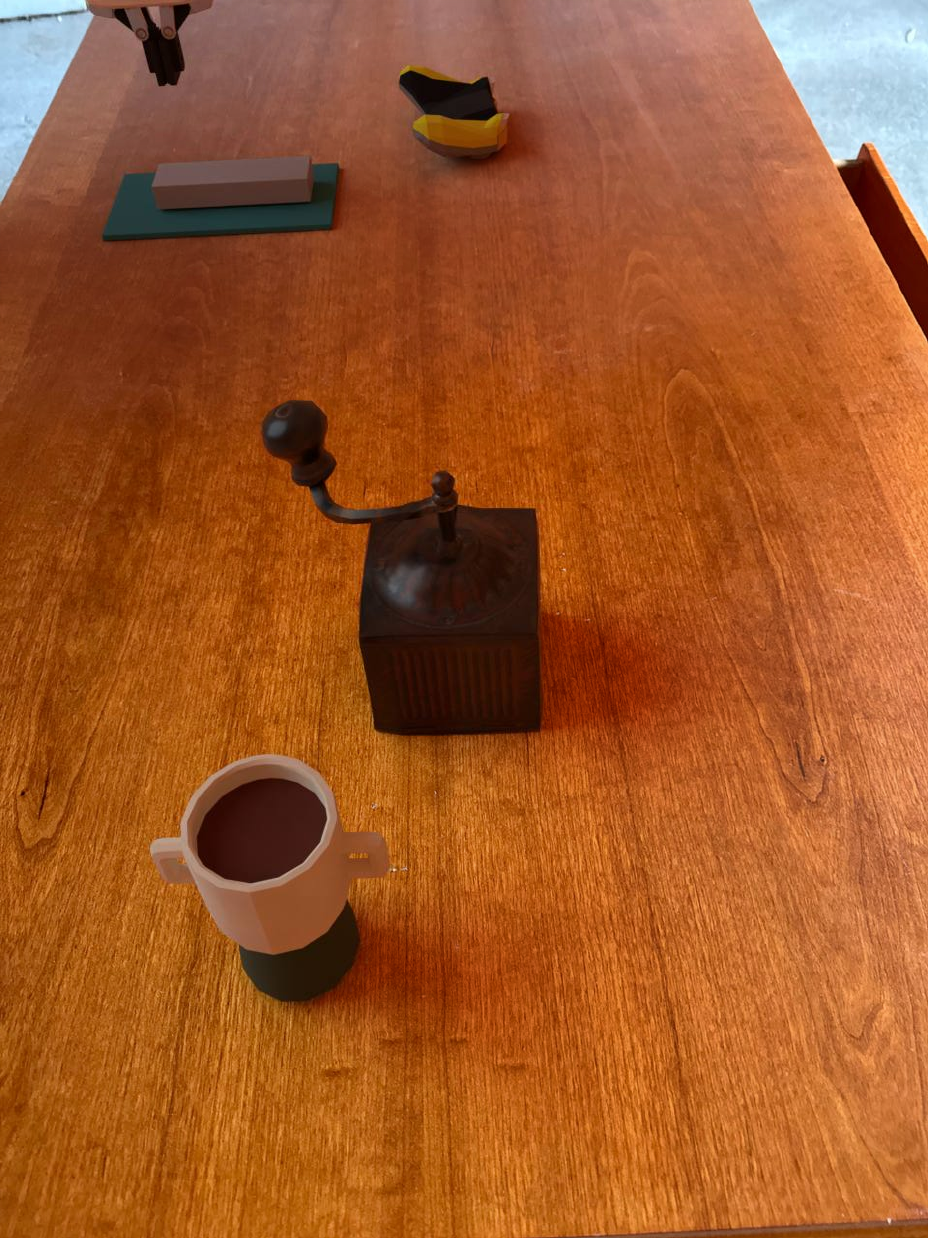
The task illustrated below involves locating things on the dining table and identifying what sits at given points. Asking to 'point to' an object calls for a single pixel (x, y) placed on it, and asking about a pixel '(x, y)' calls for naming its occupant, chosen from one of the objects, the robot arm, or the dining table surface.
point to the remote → (233, 182)
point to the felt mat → (217, 212)
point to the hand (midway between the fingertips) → (170, 78)
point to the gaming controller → (454, 113)
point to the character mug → (275, 871)
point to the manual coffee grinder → (434, 597)
